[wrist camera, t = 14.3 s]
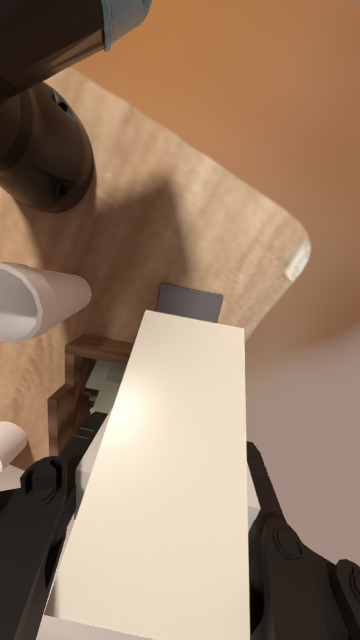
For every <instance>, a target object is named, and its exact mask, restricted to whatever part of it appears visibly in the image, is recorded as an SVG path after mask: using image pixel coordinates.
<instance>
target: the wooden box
mask: <svg viewBox="0 0 360 640" xmlns="http://www.w3.org/2000/svg"><path fill="white" fill-rule="evenodd" d="M133 346H134V344H132V343H127V342H122V341H117V340H112V339H107V338H101V337H96V336H91V335H86V334H84V335H82V336H81V337H79V338H77V339H75V340H74V341H72V342H70V343H69V344H67V345H65V384H64V385H63V386H62V387H61V388H60V389H58V390H57V391H56V392H55V393H54V394H53V395H52V396H50V397H49V398H48V399H47V400H48V430H49V457H50V456H59V455H60V454H61V452H62V451H63V449H64V448H65V447H66V445H67V444H68V442H69V441H70V440H71V438H72V437H73V436H74V434H75V433H76V431H77V430H78V429H79V428H80V426H81V425H82V423H83V422H84V420H85V419H86V418H87V417H88V412H89V396H91V395H92V394H93V393H94V392H95V391H96V390H94V389H89V388H86V387H85V386H86V384H87V382H88V379H89V377H90V367H91V359H95V360H100V361H106V362H111V363H116V364H121V365H126V366H127V364H128V361H129V358H130V355H131V352H132V349H133Z"/></svg>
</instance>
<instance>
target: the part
mask: <svg viewBox="0 0 360 640" xmlns="http://www.w3.org/2000/svg"><path fill="white" fill-rule="evenodd" d="M44 615H48V616H52V617H57V618H61V619H65V620H70V621H74V622H79V623H84V624H88V625H92V626H97V627H101V628H106V629H110V630H114V631H119V632H123V633H128V634H132V635H136V636H141V637H146V638H150V639H154V640H250V611H249V559H248V506H247V454H246V401H245V350H244V329H243V328H238V327H233V326H227V325H222V324H217V323H212V322H207V321H201V320H196V319H191V318H186V317H180V316H175V315H170V314H165V313H160V312H154V311H149V310H145V313H144V316H143V319H142V322H141V325H140V328H139V331H138V334H137V337H136V340H135V343H134V346H133V349H132V352H131V355H130V358H129V361H128V364H127V367H126V370H125V373H124V376H123V379H122V382H121V385H120V388H119V391H118V394H117V397H116V400H115V403H114V406H113V409H112V412H111V415H110V418H109V421H108V424H107V427H106V430H105V433H104V436H103V439H102V442H101V445H100V448H99V451H98V454H97V457H96V460H95V463H94V466H93V469H92V472H91V475H90V478H89V481H88V484H87V487H86V490H85V493H84V496H83V499H82V502H81V505H80V508H79V511H78V514H77V517H76V520H75V523H74V526H73V529H72V532H71V535H70V538H69V541H68V544H67V547H66V550H65V553H64V556H63V559H62V562H61V565H60V568H59V571H58V574H57V577H56V580H55V583H54V586H53V589H52V592H51V595H50V598H49V601H48V604H47V607H46V610H45V613H44Z"/></svg>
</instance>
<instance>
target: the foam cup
mask: <svg viewBox="0 0 360 640" xmlns="http://www.w3.org/2000/svg"><path fill="white" fill-rule="evenodd" d="M91 297H92V292H91V287H90V286H89V284H88V283H87V281H86V280H85V279H83V278H82V277H80V276H78V275H73V274H67V273H61V272H55V271H49V270H43V269H37V268H32V267H29V266H27V265H23V264H16V263H9V262H0V341H2V342H9V343H15V344H17V343H20V342H23V341H26V340H30V339H32V338H35V337H37V336H39V335H42V334H44V333H46V332H47V331H48V330H49V329H50V328H52V327H53V326H55V325H57V324H58V323H60V322H62V321H63V320H65V319H67V318H68V317H70V316H72V315H73V314H75V313H77V312H78V311H80V310H81V309H83V308H84V307H86V306H87V305H88V304H89V303H90V301H91Z"/></svg>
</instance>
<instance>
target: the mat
mask: <svg viewBox="0 0 360 640" xmlns="http://www.w3.org/2000/svg"><path fill="white" fill-rule="evenodd" d="M222 298H223V295H220V294H215V293H210V292H204V291H199V290H194V289H189V288H183V287H178V286H173V285H168V284H162V283H161V284H160V290H159V297H158V304H157V311H156V312H160V313H165V314H170V315H175V316H180V317H186V318H191V319H196V320H201V321H207V322H212V323H216V322H217V318H218V314H219V310H220V306H221V302H222Z"/></svg>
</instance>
